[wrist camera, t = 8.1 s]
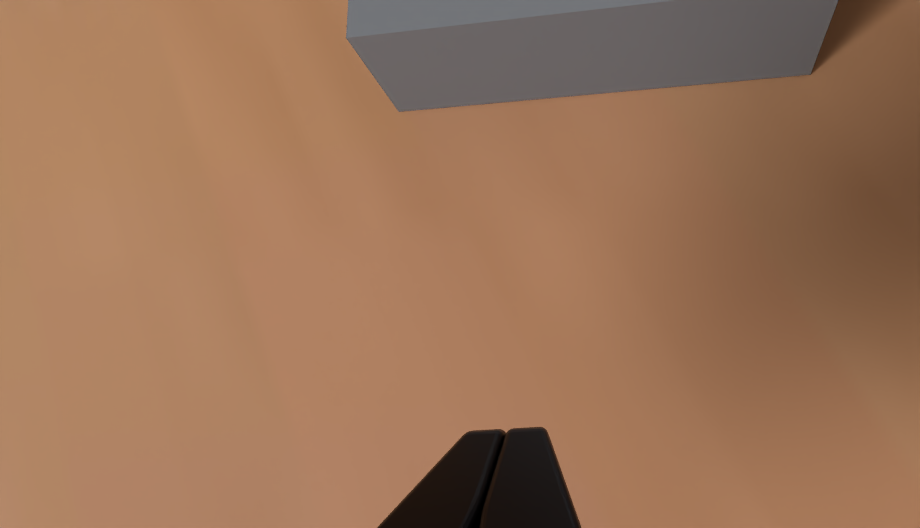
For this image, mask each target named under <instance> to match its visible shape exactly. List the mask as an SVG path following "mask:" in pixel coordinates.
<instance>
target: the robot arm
mask: <svg viewBox="0 0 920 528" xmlns="http://www.w3.org/2000/svg"><path fill="white" fill-rule="evenodd" d="M377 528H581V525H580V522H579V520H578V517H577V514H576V511H575V508H574V505H573V503H572V500H571V497H570V494H569V491H568V488H567V485H566V483H565V480H564V477H563V474H562V471H561V468H560V466H559V463H558V460H557V457H556V454H555V451H554V449H553V446H552V443H551V440H550V437H549V435H548V432H547V430H546V429H545V428H543V427H530V428H513V429H510V430H509V431H508V432H507V433H506V432H504V431H503V430H501V429H494V430H476V431H469V432H467V433H466V434H464V435H463V436H462V437H461V438H460V439H459V440H458V441H457V442H456V444H455V445H454V446H453V447H452V448H451V449H450V450H449V451H448V452H447V453H446V454H445V455H444V456H443V457H442V459H441V460H440V461H439V462H438V463H437V464H436V465H435V466H434V467H433V468H432V469H431V470H430V471H429V472H428V474H427V475H426V476H425V477H424V478H423V479H422V480H421V481H420V482H419V483H418V484H417V485H416V486H415V488H414V489H413V490H412V491H411V492H410V493H409V494H408V495H407V496H406V497H405V498H404V499H403V500H402V501H401V503H400V504H399V505H398V506H397V507H396V508H395V509H394V510H393V511H392V512H391V513H390V514H389V515H388V517H387V518H386V519H385V520H384V521H383V522H382V523H381V524H380V525H379V526H378V527H377Z"/></svg>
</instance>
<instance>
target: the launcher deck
mask: <svg viewBox="0 0 920 528" xmlns="http://www.w3.org/2000/svg"><path fill="white" fill-rule="evenodd" d="M837 3H838V0H348V16H347V33H346V38H347V40H348V41H349V43H350V44H351V45H352V47H353V48H354V50H355V51H356V52H357V54H358V55H359V57H360V58H361V59H362V61H363V62H364V64H365V65H366V66H367V68H368V69H369V71H370V72H371V73H372V75H373V76H374V78H375V79H376V80H377V82H378V83H379V85H380V86H381V87H382V89H383V90H384V92H385V93H386V94H387V96H388V97H389V99H390V100H391V101H392V103H393V104H394V106H395V107H396V108H397V110H398V111H399V112H401V111H412V110H423V109H434V108H445V107H456V106H467V105H478V104H489V103H500V102H511V101H522V100H533V99H544V98H555V97H567V96H578V95H589V94H600V93H611V92H622V91H633V90H644V89H655V88H666V87H677V86H688V85H699V84H710V83H721V82H732V81H743V80H754V79H765V78H777V77H788V76H799V75H810V74H811V72H812V69H813V66H814V64H815V61H816V58H817V56H818V53H819V50H820V48H821V45H822V42H823V40H824V37H825V35H826V32H827V29H828V27H829V24H830V21H831V19H832V16H833V13H834V11H835V8H836V5H837Z"/></svg>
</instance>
